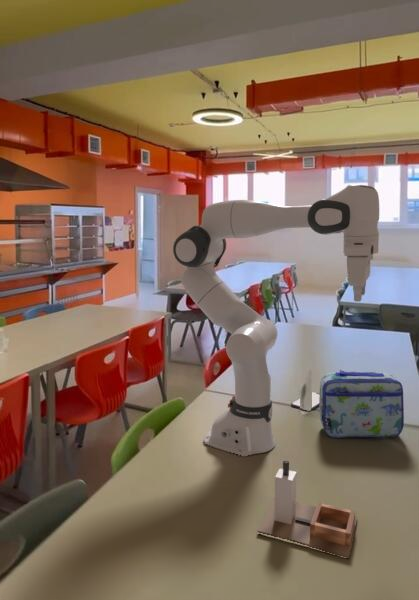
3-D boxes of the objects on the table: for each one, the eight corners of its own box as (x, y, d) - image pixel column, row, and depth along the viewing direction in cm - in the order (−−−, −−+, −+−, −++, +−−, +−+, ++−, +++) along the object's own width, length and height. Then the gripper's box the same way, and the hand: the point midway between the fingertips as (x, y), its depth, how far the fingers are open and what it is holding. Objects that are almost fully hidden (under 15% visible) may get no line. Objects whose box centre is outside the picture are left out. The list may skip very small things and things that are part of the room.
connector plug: (274, 520, 110) (275, 464, 107) (278, 510, 113) (279, 456, 111) (291, 524, 108) (292, 468, 105) (295, 514, 112) (296, 459, 109)
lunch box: (320, 439, 151) (322, 377, 148) (316, 425, 162) (318, 366, 158) (404, 442, 149) (408, 379, 145) (394, 427, 159) (398, 368, 155)
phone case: (310, 413, 172) (331, 400, 184) (310, 409, 172) (331, 396, 184) (289, 407, 178) (311, 394, 190) (289, 403, 178) (311, 391, 190)
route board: (257, 534, 106) (257, 518, 105) (274, 500, 119) (274, 486, 118) (348, 559, 98) (349, 542, 98) (357, 520, 111) (357, 504, 110)
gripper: (353, 243, 136) (352, 291, 138) (343, 249, 117) (342, 304, 120) (376, 243, 133) (374, 291, 136) (370, 249, 115) (368, 305, 117)
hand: (359, 297), depth 128 cm, fingers open, 8 cm apart
